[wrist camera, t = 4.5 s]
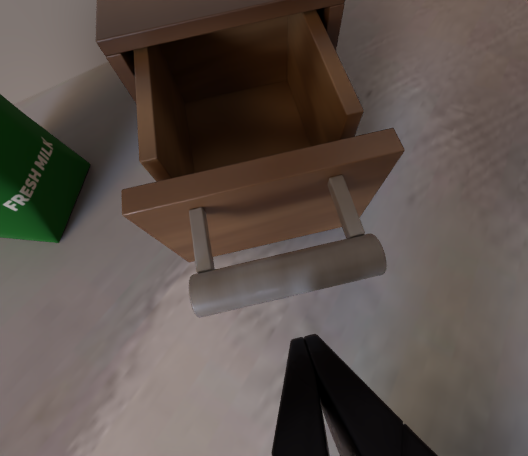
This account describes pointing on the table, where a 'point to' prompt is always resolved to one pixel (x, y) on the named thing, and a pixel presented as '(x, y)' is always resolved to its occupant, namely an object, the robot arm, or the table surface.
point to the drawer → (256, 160)
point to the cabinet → (189, 23)
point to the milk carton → (35, 178)
